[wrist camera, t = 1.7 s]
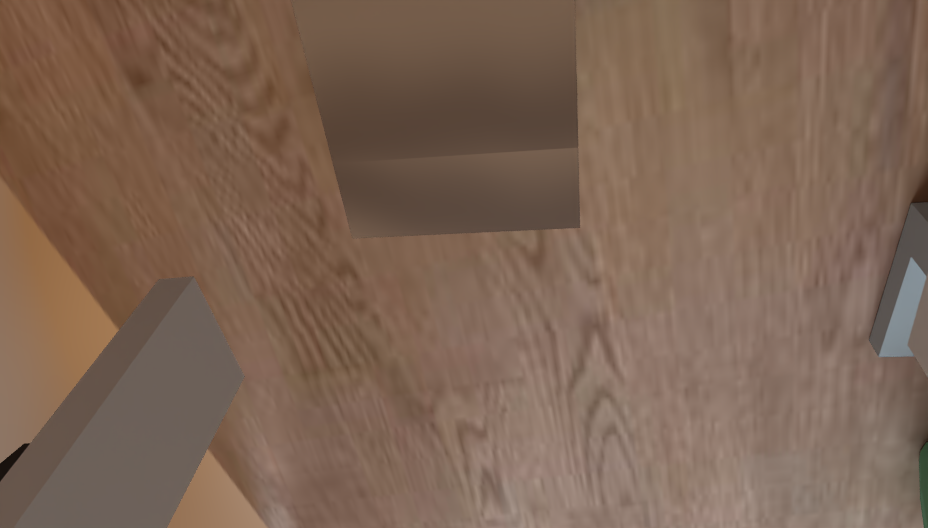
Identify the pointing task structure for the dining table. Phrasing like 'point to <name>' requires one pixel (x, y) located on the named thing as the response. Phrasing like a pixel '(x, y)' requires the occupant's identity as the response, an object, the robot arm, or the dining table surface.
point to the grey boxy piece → (903, 287)
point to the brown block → (447, 112)
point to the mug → (924, 483)
